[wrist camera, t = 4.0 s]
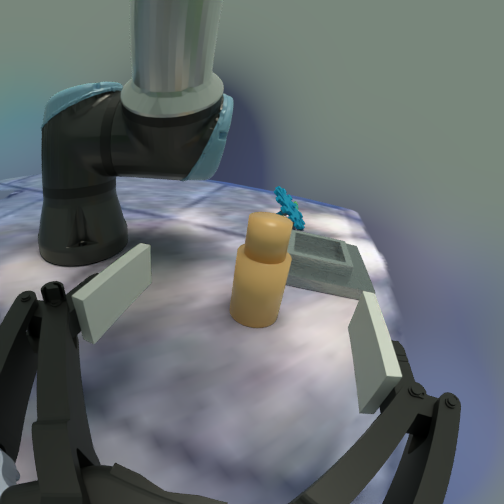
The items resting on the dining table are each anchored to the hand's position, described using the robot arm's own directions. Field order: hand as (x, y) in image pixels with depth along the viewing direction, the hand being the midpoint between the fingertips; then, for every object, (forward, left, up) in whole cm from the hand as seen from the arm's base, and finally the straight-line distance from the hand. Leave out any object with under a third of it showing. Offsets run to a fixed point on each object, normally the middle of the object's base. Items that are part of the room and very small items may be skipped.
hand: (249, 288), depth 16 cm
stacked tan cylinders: (0, +10, -9) cm, 14 cm away
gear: (+1, +41, -10) cm, 42 cm away
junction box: (+7, +25, -9) cm, 28 cm away
